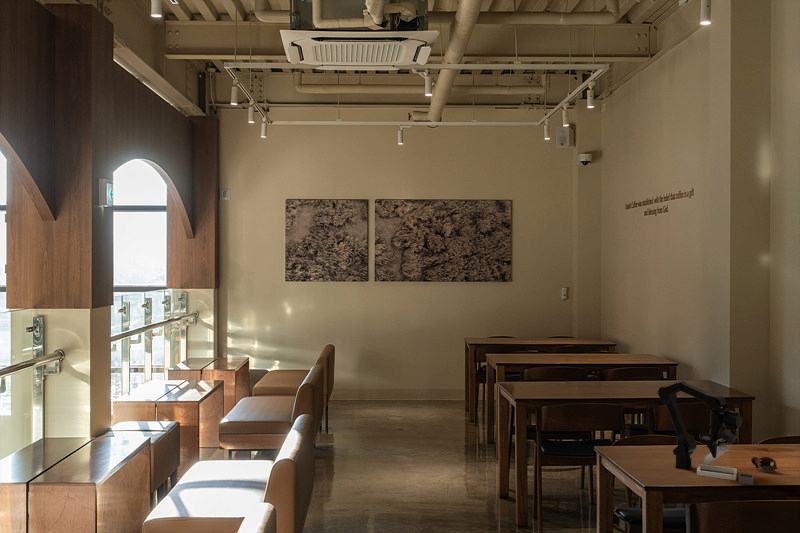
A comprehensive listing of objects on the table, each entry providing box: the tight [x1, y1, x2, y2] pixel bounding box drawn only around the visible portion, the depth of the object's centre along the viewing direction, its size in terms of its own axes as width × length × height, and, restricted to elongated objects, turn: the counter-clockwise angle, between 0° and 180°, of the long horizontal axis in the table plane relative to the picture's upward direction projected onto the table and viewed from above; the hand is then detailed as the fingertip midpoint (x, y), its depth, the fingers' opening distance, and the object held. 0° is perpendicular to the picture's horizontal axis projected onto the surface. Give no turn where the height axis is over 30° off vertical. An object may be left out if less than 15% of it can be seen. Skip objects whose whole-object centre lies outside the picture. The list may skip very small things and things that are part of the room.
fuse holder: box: [738, 472, 754, 486], centre depth 298 cm, size 6×6×4 cm
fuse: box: [702, 443, 729, 465], centre depth 310 cm, size 4×4×12 cm
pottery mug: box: [750, 455, 778, 473], centre depth 316 cm, size 12×10×8 cm
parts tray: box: [696, 463, 738, 481], centre depth 309 cm, size 16×12×3 cm
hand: (716, 457), depth 310 cm, fingers closed on fuse, 4 cm apart
